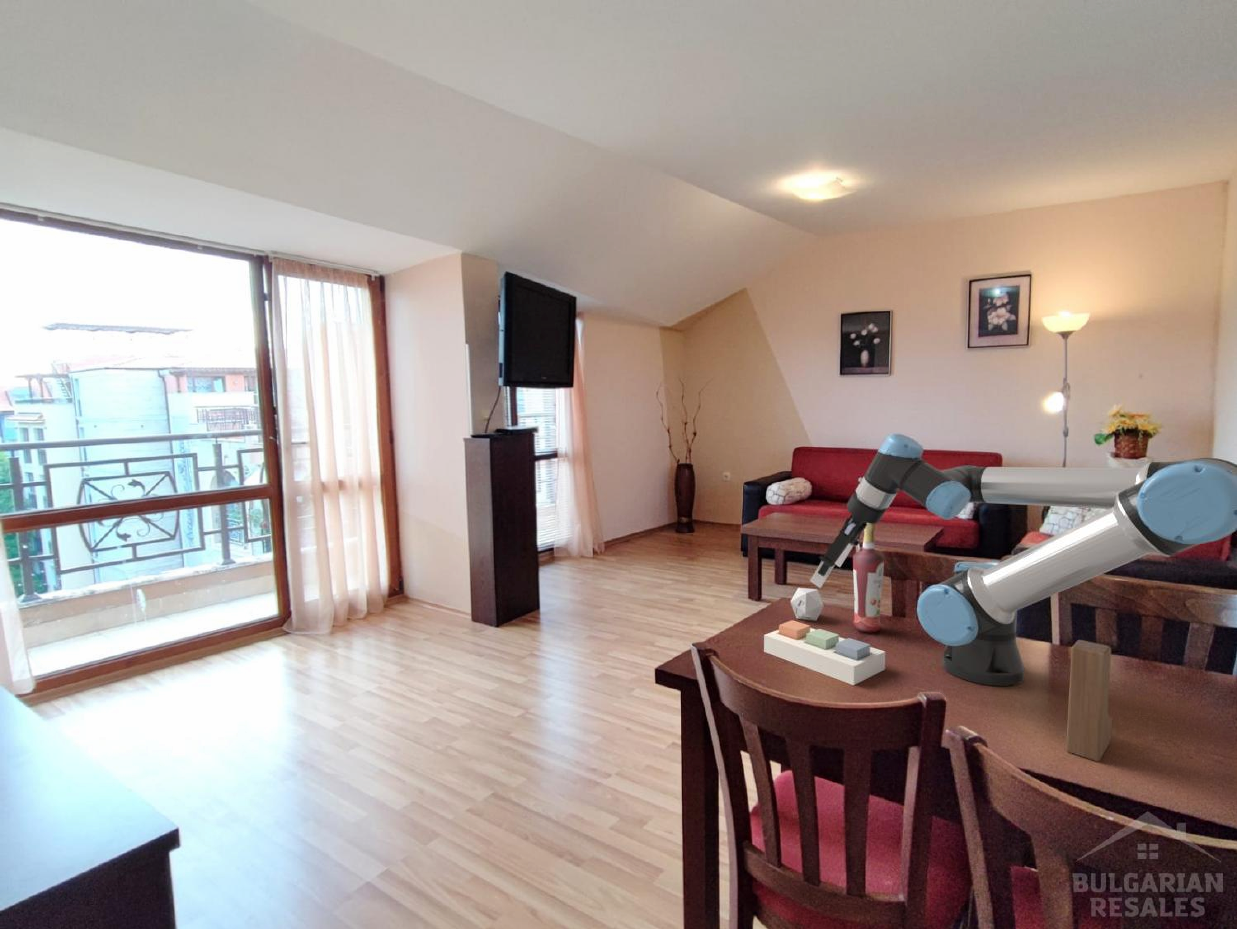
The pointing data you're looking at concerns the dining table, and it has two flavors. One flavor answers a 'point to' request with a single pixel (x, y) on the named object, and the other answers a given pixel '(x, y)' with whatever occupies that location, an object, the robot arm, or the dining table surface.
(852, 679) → the control panel
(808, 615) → the die
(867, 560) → the liquor
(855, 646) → the slate button
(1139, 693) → the dining table surface
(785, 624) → the terracotta button
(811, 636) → the sage button
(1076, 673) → the wooden block
